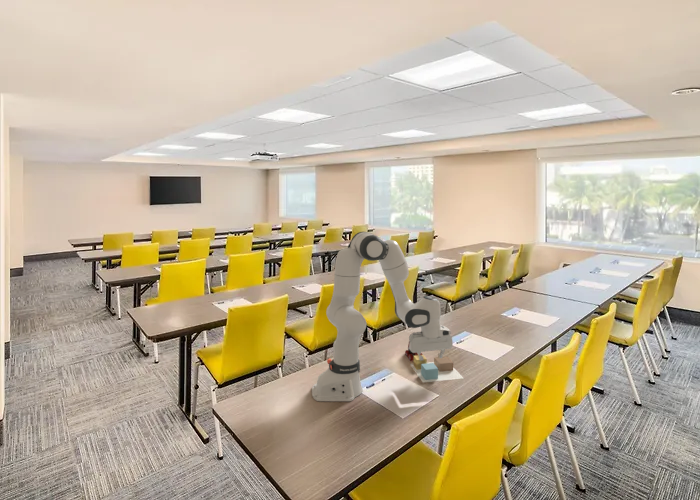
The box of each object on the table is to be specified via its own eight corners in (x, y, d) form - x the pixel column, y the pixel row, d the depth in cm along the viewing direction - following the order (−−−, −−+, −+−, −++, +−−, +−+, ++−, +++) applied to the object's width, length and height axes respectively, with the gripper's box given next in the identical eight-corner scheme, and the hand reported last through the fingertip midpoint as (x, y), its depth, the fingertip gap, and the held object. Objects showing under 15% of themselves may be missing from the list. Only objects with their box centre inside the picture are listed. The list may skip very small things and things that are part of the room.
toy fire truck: (415, 353, 210) (415, 335, 208) (424, 363, 198) (425, 344, 196) (403, 354, 208) (403, 336, 207) (411, 364, 196) (412, 345, 195)
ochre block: (416, 369, 188) (416, 360, 187) (413, 365, 193) (413, 355, 192) (426, 368, 189) (426, 359, 188) (422, 364, 194) (423, 354, 193)
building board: (422, 384, 176) (423, 374, 175) (409, 366, 194) (409, 356, 194) (464, 380, 179) (464, 370, 178) (447, 362, 198) (447, 353, 197)
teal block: (425, 379, 178) (425, 369, 177) (421, 373, 184) (421, 364, 183) (437, 378, 179) (438, 368, 178) (433, 372, 185) (433, 362, 184)
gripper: (411, 335, 173) (411, 364, 176) (454, 331, 177) (453, 359, 179) (407, 330, 179) (407, 358, 182) (448, 326, 183) (448, 353, 185)
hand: (430, 358), depth 180 cm, fingers open, 8 cm apart
